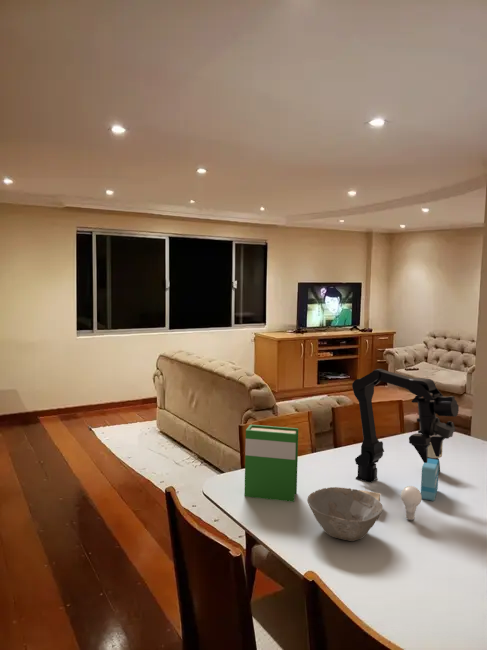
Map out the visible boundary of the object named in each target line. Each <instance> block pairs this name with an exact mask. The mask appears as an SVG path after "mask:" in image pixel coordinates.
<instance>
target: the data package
mask: <svg viewBox="0 0 487 650" xmlns="http://www.w3.org/2000/svg"><path fill="white" fill-rule="evenodd" d="M439 462H440V459H439V460H436V459H430V458H428V459H427V463H424V462H423V464H422V466H421V476H420V477H421V481H420V482H421V483H420V493H421V496H422V499H421V500H426V501H427V500H428V501H432V502H433V501H435V499H436V496H437V493H438V490H439V489H438V488H439V487H438V485H439V473H440V472H439ZM438 472H439V473H438Z"/></svg>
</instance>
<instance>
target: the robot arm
mask: <svg viewBox="0 0 487 650" xmlns="http://www.w3.org/2000/svg"><path fill="white" fill-rule="evenodd" d="M380 382H383V383H386V384H389V385H394V386H397V387H399V388H403V389H405V390H407V391H408V392H410V393H411V394H412V395H415V396H414V397H413V399H412V400H411V403H415V404H416V403H417V409H418V418H416V422H417V423H419V429H418V430H417V433H413V434H411V435H410V436H409V437H408V443H409V444H410V445H411V446H413V448H414V449H415V451H417V453H418V455H419V456H420V458H421V460H422V462H423V464H424V463H427V459H428V447H429V446H430V445H432V447H433V450H434V453H435V455H436V457H439V455H440V451H441V446H442V442H443V443H444V440H447V439H448V440H449V439H450V438H452V437H453V435H454V432H455V431H456V427H455V424H454V422H453V421H450V420H449V421H447V422H446V423H445V422H441V421H440V418H439V417H454V418H455V417H457V416H458V414H459V409H460V408H459V403H458V401H457V400H456V399H455V398H456V397H455V396H454V395H450V396H444V395H443V394H442V392H441V391H440V390H439V389H438V387H436V383H435V381H434V380H432V379H431V378H425V377H424V378H423V377H410V376H407V375H402V374H400V373H396V372H393V371H389V370H385V369H384V368H376V369H374V370H372V371H371V372H370V373H368V374H367V375H364V376H362V377H361V378H360V377H359V378H357V379H355V380H354V381H353V382H352V383H351V384H352V386H351V387H352V390H353V395H354V397H355V398H356V400H357V401H358V404H359V413H360V422H361V428H362V429H361V430H362V436H363V440H362V443H361V449H360V454H359V455H357V457H355V459H354V461H355V464H356V465H357V476H356V477H355V480H358V481H359V480H360V481H363V482H366V483H374V481H376V480H378V467H377V463H379V460H380V459H382V457H383V455H384V452H385V450H384V449H385V448H384V442H383V441H380V440H379V439H378V437H377V433H376V424H375V417H374V416H375V415H374V409H373V402H372V399H373V396H374V393H375V386H376V385H378V384H379V383H380ZM430 442H431V444H430Z"/></svg>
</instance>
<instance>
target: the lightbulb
mask: <svg viewBox="0 0 487 650" xmlns="http://www.w3.org/2000/svg"><path fill="white" fill-rule="evenodd" d="M400 497H401V498H400V500H401V501H402V503H403V505H404V509H405V518H406V519H407V520H408V521H412V520H413V521H414V520H415V515H416V511H417V507H418V506H419V505H420V504H421V502H422V500H423V499H422V496H421V490H420V489H418V488H417V487H415V486H412V485H409V486H405V487H404V488H403V489H402V490H401V493H400Z"/></svg>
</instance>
